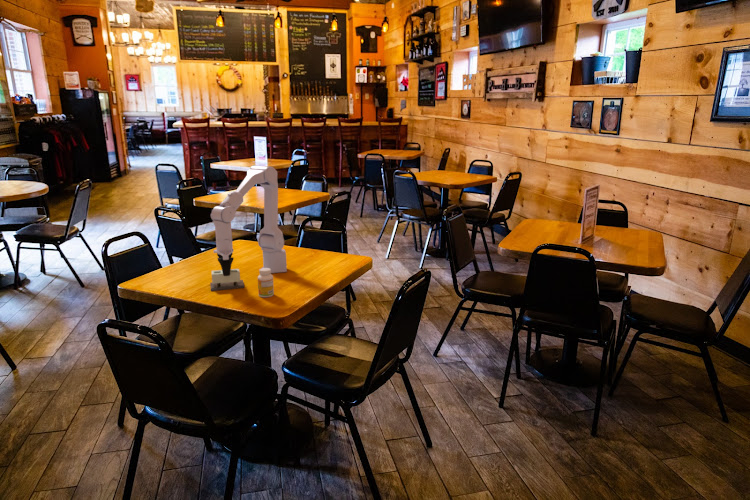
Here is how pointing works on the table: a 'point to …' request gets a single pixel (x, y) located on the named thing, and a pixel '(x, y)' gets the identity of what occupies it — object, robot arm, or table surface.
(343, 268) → the table surface
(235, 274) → the hollow breeze brick
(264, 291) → the supplement bottle
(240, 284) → the base
